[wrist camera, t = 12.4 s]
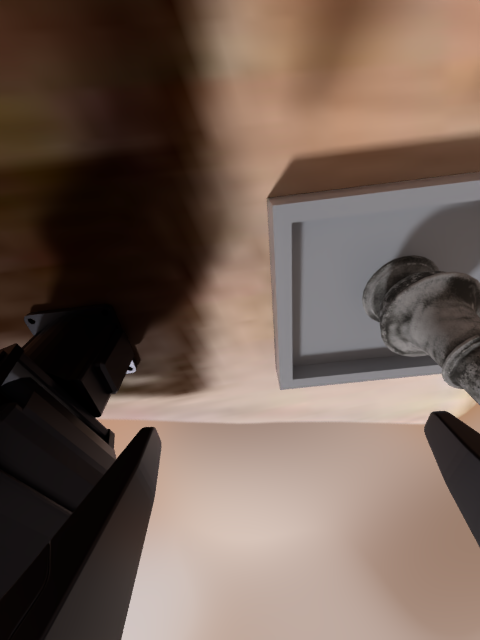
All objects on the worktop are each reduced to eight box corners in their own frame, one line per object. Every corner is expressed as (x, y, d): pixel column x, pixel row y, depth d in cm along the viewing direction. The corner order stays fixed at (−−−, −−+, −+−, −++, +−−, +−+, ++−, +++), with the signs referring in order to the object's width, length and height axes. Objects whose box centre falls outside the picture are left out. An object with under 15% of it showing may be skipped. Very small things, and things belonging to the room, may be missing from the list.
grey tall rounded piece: (357, 332, 21) (476, 507, 11) (358, 261, 18) (527, 414, 8) (436, 317, 20) (639, 486, 10) (452, 241, 17) (766, 376, 7)
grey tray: (275, 368, 24) (280, 389, 22) (267, 198, 16) (272, 205, 14) (460, 349, 23) (482, 369, 21) (538, 164, 16) (585, 167, 14)
